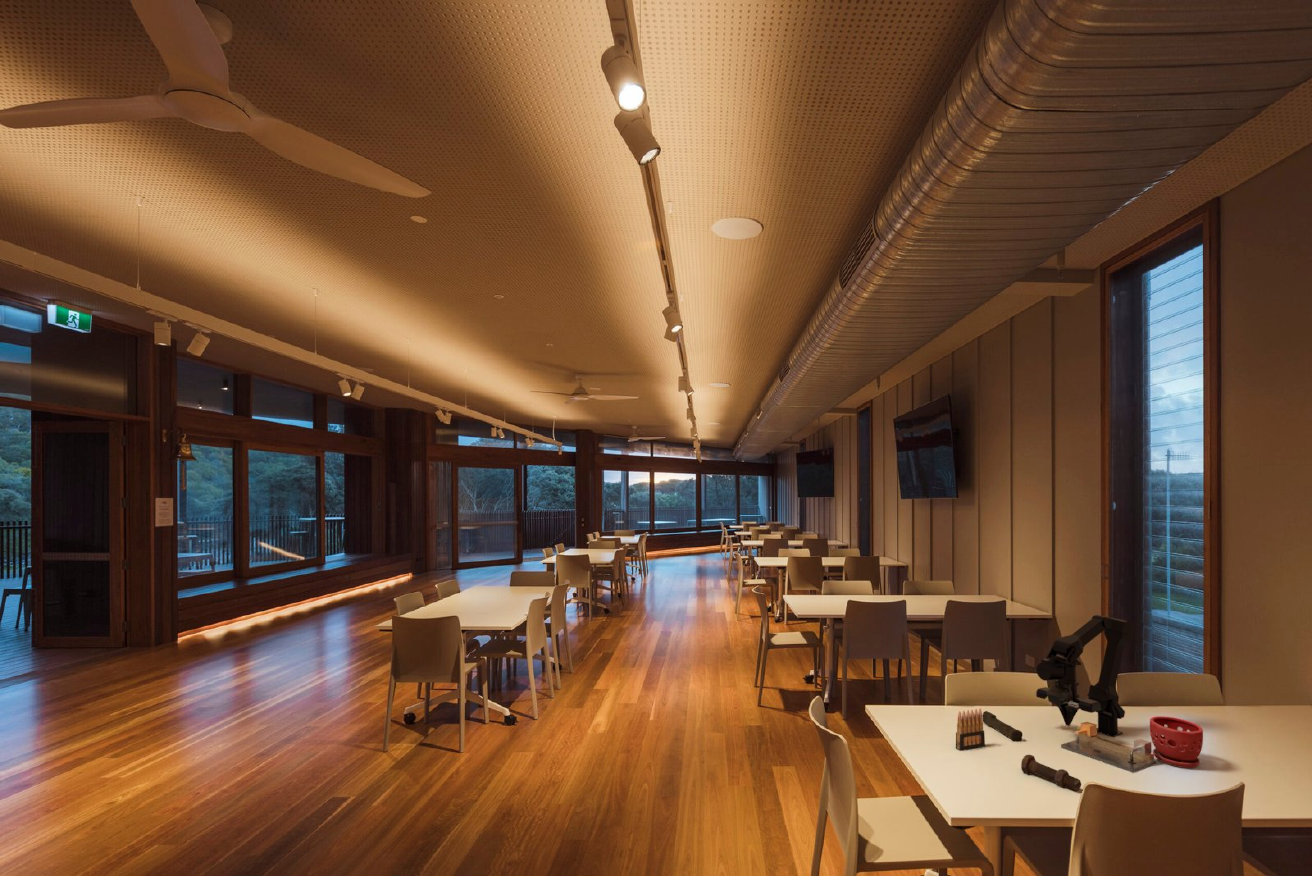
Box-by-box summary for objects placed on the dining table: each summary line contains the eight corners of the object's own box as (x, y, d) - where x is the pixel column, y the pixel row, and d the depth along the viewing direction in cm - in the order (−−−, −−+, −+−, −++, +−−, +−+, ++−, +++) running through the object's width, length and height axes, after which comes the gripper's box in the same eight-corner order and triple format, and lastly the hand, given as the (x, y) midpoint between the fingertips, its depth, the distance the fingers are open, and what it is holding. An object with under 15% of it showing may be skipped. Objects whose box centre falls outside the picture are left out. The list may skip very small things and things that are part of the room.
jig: (1085, 740, 225) (1084, 721, 226) (1156, 763, 207) (1155, 743, 207) (1061, 747, 218) (1060, 728, 219) (1132, 772, 200) (1131, 751, 201)
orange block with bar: (1087, 737, 224) (1087, 721, 225) (1096, 740, 222) (1096, 724, 222) (1072, 741, 220) (1071, 725, 220) (1081, 745, 217) (1081, 728, 218)
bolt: (1077, 800, 186) (1024, 777, 199) (1085, 787, 188) (1033, 765, 201) (1071, 783, 185) (1018, 761, 198) (1080, 771, 187) (1027, 750, 200)
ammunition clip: (980, 744, 220) (979, 707, 221) (985, 746, 218) (984, 708, 219) (955, 748, 216) (955, 710, 217) (960, 751, 214) (959, 712, 215)
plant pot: (1141, 757, 212) (1140, 718, 212) (1167, 751, 217) (1165, 713, 218) (1187, 774, 200) (1186, 733, 200) (1213, 767, 205) (1212, 727, 206)
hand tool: (1023, 742, 223) (1023, 728, 223) (1011, 742, 223) (1011, 728, 223) (990, 722, 242) (990, 709, 242) (979, 722, 242) (979, 709, 242)
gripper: (1026, 674, 233) (1026, 720, 232) (1081, 689, 217) (1082, 738, 216) (1045, 670, 239) (1046, 715, 238) (1100, 684, 222) (1102, 733, 221)
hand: (1067, 725), depth 228 cm, fingers closed
